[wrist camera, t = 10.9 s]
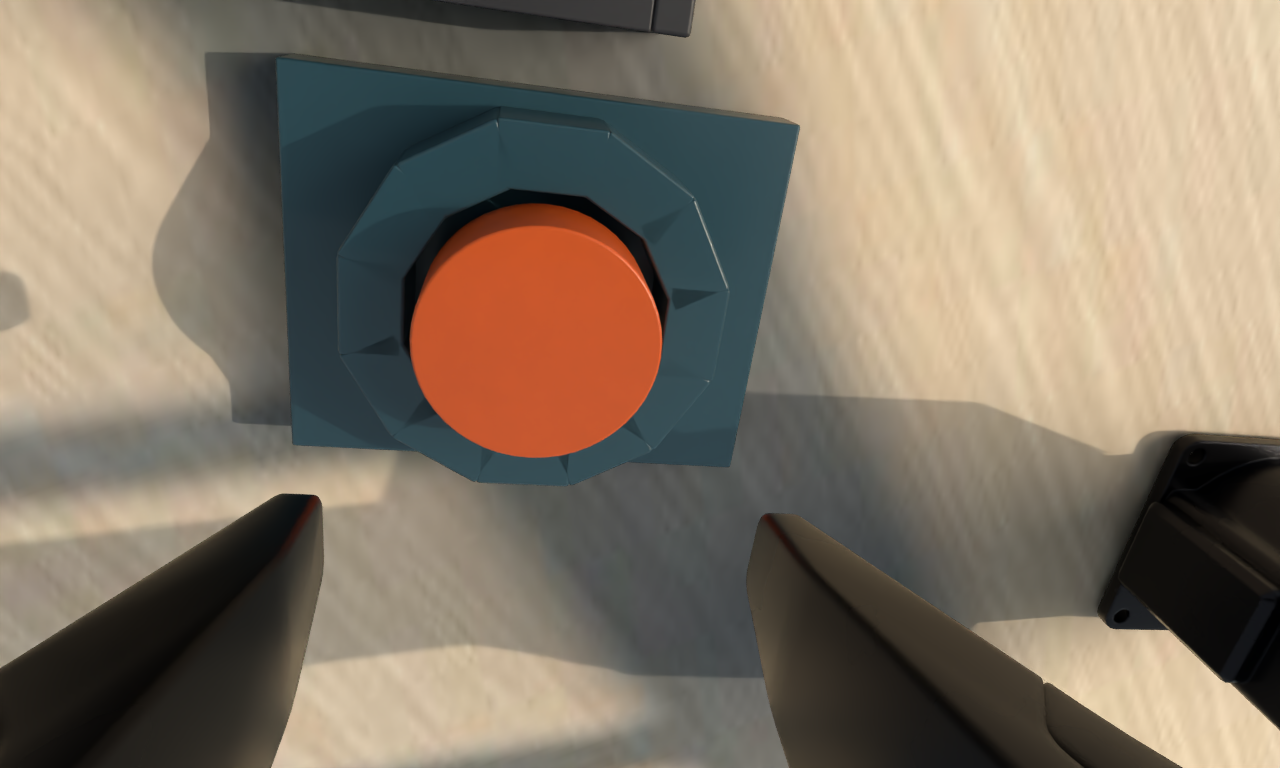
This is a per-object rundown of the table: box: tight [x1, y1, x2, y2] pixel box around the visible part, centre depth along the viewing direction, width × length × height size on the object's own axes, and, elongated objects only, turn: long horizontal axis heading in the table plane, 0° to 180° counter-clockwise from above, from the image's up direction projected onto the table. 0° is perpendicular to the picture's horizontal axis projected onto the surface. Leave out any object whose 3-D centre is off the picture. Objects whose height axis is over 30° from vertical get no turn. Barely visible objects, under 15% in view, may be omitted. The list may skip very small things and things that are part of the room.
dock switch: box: [275, 54, 800, 486], centre depth 17 cm, size 10×8×3 cm
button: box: [410, 203, 662, 458], centre depth 15 cm, size 4×4×2 cm
